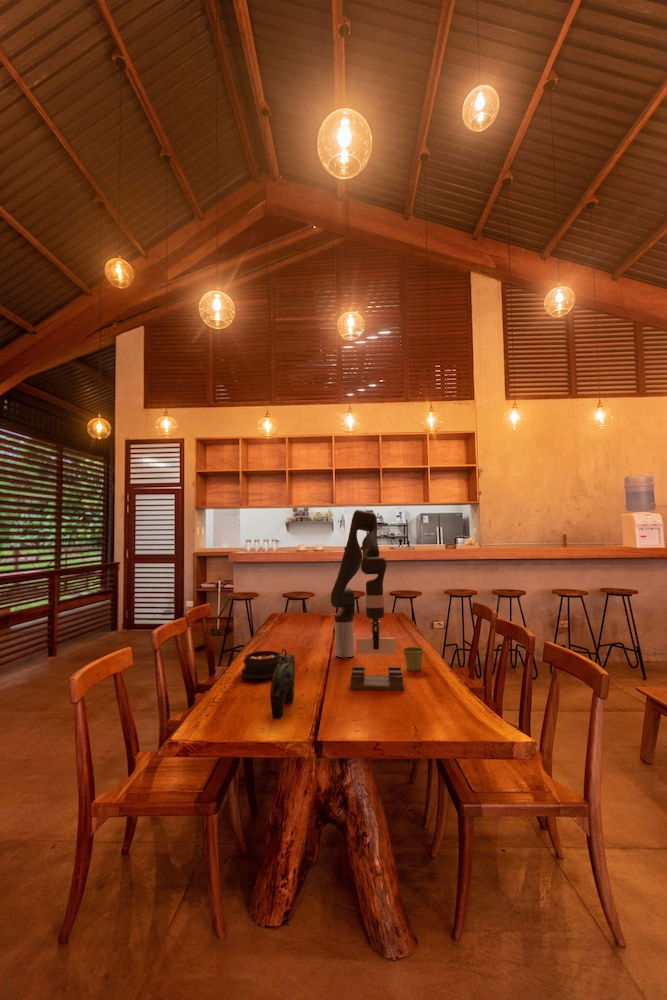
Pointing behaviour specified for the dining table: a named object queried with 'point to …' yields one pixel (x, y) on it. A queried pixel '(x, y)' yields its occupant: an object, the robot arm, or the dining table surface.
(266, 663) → the casserole
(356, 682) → the dark grey holder
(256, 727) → the dining table surface
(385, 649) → the clay strip
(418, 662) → the plant pot
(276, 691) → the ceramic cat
